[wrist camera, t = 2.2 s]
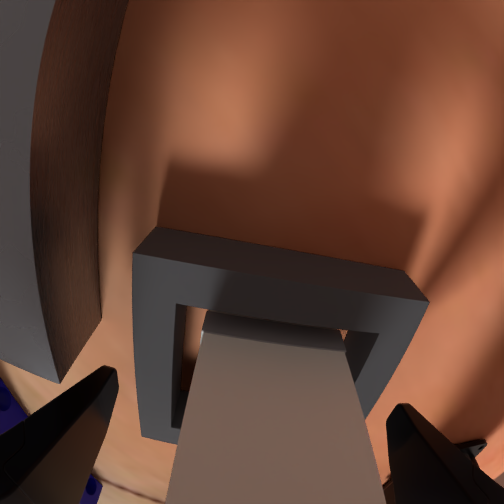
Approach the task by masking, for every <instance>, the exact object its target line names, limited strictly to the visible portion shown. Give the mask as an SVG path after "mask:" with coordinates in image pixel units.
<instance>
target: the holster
mask: <svg viewBox="0 0 504 504" xmlns="http://www.w3.org/2000/svg"><path fill="white" fill-rule="evenodd" d="M429 303H430V302H429V301H428V299H427V298H426V297H425V296H424V294H423V293H422V292H421V291H420V289H419V288H418V287H417V286H416V285H415V283H414V282H413V281H412V280H411V279H410V277H409V276H408V275H407V274H406V273H405V271H402V270H396V269H391V268H386V267H380V266H375V265H369V264H364V263H359V262H353V261H348V260H342V259H337V258H331V257H326V256H320V255H315V254H309V253H304V252H298V251H293V250H287V249H281V248H276V247H270V246H265V245H259V244H253V243H248V242H242V241H236V240H231V239H225V238H219V237H213V236H208V235H202V234H196V233H190V232H185V231H179V230H173V229H167V228H161V227H155V228H154V229H153V230H152V231H151V233H150V234H149V235H148V236H147V237H146V238H145V239H144V240H143V242H142V243H141V244H140V245H139V246H138V247H137V248H136V250H135V251H134V252H133V263H132V315H133V344H134V363H135V377H136V389H137V400H138V410H139V419H140V428H141V435H142V437H146V438H150V439H154V440H158V441H163V442H167V443H172V444H178V440H179V435H180V431H181V426H182V422H183V417H184V413H185V408H186V404H187V400H188V395H189V392H188V391H183V390H180V388H181V371H182V356H183V343H184V330H185V318H186V307H187V306H192V307H198V308H203V309H209V310H214V311H220V312H226V313H231V314H237V315H243V316H250V317H256V318H262V319H269V320H275V321H282V322H289V323H296V324H303V325H311V326H318V327H326V328H334V329H343V330H348V333H347V335H346V338H345V340H344V345H345V348H346V353H345V356H346V359H347V362H348V365H349V368H350V372H351V375H352V378H353V382H354V385H355V388H356V392H357V395H358V398H359V402H360V405H361V409H362V412H363V416H364V419H366V417H367V416H368V414H369V413H370V411H371V410H372V408H373V407H374V405H375V403H376V402H377V400H378V399H379V397H380V395H381V394H382V392H383V390H384V389H385V387H386V385H387V384H388V382H389V380H390V379H391V377H392V375H393V373H394V372H395V370H396V368H397V366H398V365H399V363H400V361H401V359H402V357H403V355H404V354H405V352H406V350H407V348H408V346H409V344H410V342H411V340H412V338H413V336H414V334H415V332H416V330H417V328H418V326H419V324H420V322H421V320H422V318H423V316H424V314H425V311H426V309H427V307H428V305H429Z"/></svg>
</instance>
